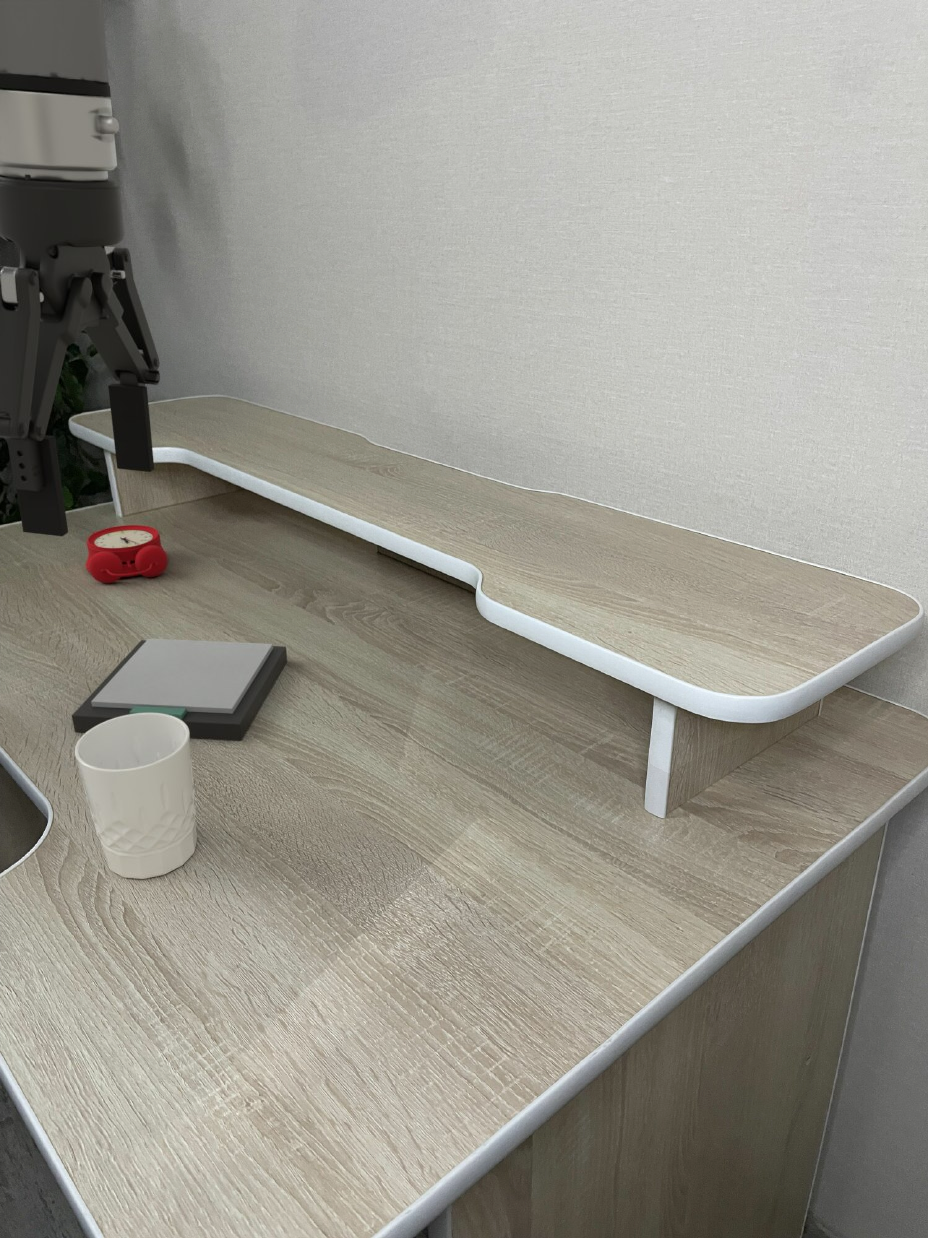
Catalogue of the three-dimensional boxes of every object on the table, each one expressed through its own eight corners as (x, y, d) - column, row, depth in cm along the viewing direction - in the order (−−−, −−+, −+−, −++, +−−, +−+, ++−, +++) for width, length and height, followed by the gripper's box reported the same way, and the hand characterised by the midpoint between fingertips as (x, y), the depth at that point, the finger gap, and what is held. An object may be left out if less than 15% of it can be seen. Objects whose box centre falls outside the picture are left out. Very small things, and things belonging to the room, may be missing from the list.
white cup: (226, 840, 73) (212, 731, 69) (146, 900, 67) (125, 783, 63) (156, 808, 77) (139, 702, 72) (75, 861, 71) (50, 749, 66)
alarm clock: (158, 520, 132) (168, 529, 118) (165, 563, 133) (176, 578, 119) (79, 529, 128) (80, 540, 114) (87, 574, 129) (89, 590, 116)
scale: (74, 732, 87) (70, 709, 86) (143, 654, 102) (140, 634, 101) (241, 741, 86) (239, 718, 85) (287, 661, 101) (285, 641, 100)
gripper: (-2, 185, 47) (56, 573, 56) (190, 172, 69) (208, 452, 78) (-143, 173, 47) (-62, 559, 57) (92, 164, 69) (122, 443, 79)
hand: (94, 498), depth 68 cm, fingers open, 13 cm apart
